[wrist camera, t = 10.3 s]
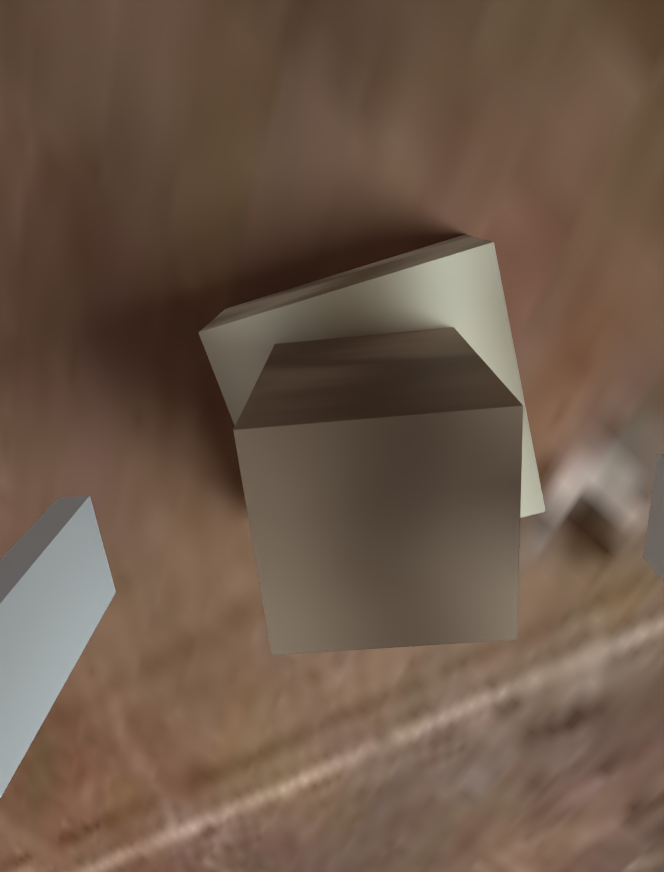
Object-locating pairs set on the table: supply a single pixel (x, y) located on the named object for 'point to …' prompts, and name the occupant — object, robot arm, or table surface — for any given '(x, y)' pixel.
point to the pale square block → (380, 322)
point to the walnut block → (383, 493)
